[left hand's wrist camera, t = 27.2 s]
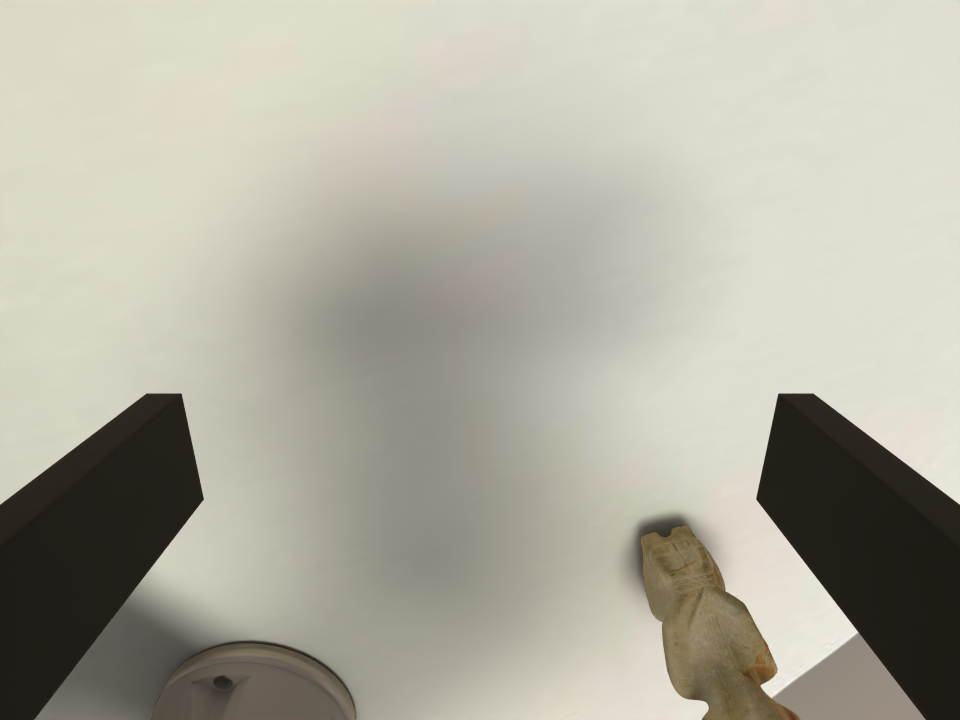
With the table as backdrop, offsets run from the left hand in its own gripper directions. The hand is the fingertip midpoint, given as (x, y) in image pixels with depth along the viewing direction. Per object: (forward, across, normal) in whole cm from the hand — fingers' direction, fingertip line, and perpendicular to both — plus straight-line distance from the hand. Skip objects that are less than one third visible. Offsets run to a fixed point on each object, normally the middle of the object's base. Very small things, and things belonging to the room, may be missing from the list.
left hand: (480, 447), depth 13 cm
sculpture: (+22, -14, +21) cm, 33 cm away
